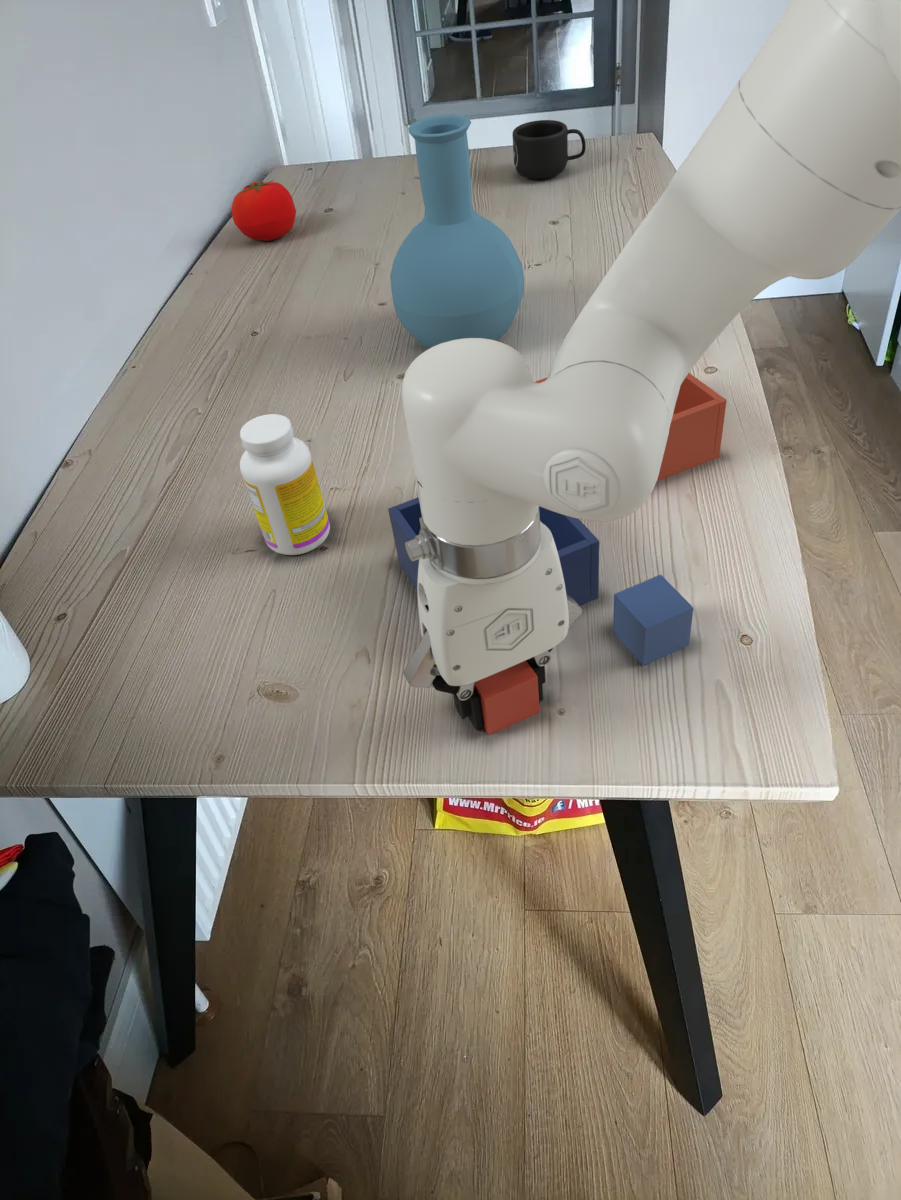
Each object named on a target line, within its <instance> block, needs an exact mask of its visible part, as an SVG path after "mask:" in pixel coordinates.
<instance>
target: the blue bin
mask: <svg viewBox="0 0 901 1200" xmlns="http://www.w3.org/2000/svg"><path fill="white" fill-rule="evenodd" d="M387 510H388V514H389V515H388V516H389V520H390V525H391V530H392V535H393V540H394V545H395V549H396V554H397V559H398V564H399V566H400V567H401V569H402V570H403V572H404V573H405V575H406V577H407V578H408V580H409V581H410V582H411V584H412V586H413V587H414V588H415V590H416V591H417V584H418V567H419V559H418V560H415V561H411V559H410V558H409V556H408V553H407V551H406V547H405V542H408V541H410V540H413V539H415V536H417V535H419V532H420V529H421V526H420V520H419V518H421V517H422V514H421V508H420V502H419V496H417V497H415V498H413V499H412V498H411V499H409V500H407V501H404V502H402V503H399V504H397V505H394V506H390V507H389V508H387ZM539 513H540V521H541V522H542V523H543V524H544V525H545V526H546V527H548V529H549V530H550V531H551V533H552V536H553V539H554V542H555V545H556V548H557V552H558V555H559V559H560V564H561V568H562V573H563V578H564V583H565V589H566V594H567V595H568V596H570V597H571V598H573V599H574V600H575V601H576V603H577V604H578V605H579V606H580V607H582V606H583V605H585V604H588V603H591V602H592V601H596V600H597V599H599V588H600V587H599V586H600V584H599V581H600V540H599V538H598V537H597V536H596V535H595V534H594V533H592V531H591V530H590V529H589V528H588V526H586V525H585V524H584V523H583V521H581V519H577V518H573V517H569V516H566V515H562V514H559V513H557V512H554V511H551V510H548V509H545V508H543V507H540V506H539Z"/></svg>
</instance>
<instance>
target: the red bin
mask: <svg viewBox="0 0 901 1200" xmlns="http://www.w3.org/2000/svg"><path fill="white" fill-rule="evenodd" d="M546 379H547V377H544V378H542V379H538V380H535V381H534V382H535V383H542V382H544V381H546ZM726 408H727V399H726V398H724V397H723V396H722V395H720V393H718V392H716V391H715V390H713V389H712V388H711V387H709V386H708V385H706V384H705V383H704V382H703V381H701V380H700V379H698V378H697V377H696V376H694V375H693V374H692V373H690V372H689V373H688V374H687V376H686V377H685V379H684V381H683V382H682V384H681V386H680V390H679V394H678V397H677V400H676V404H675V408H674V413H673V417H672V421H671V424H670V428H669V435H668V439H667V443H666V447H665V451H664V455H663V459H662V463H661V467H660V471H659V475H658V479H657V482H656V483H658V482H660V481H662V480H664V479H667V478H670V477H673V476H675V475H678V474H680V473H683V472H685V471H688V470H690V469H693V468H695V467H699V466H700V465H703V464H706V463H708V462H710V461H713V460H715V459H718V458H720V455H721V448H722V439H723V431H724V424H725V415H726Z"/></svg>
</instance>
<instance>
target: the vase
mask: <svg viewBox="0 0 901 1200" xmlns="http://www.w3.org/2000/svg"><path fill="white" fill-rule="evenodd" d="M471 124H472V121H471V119H470V118H469V117H467V116H465V115H462V114H456V113H455V114H454V113H452V114H451V113H450V114H449V113H447V114H437V115H430V116H427V117H423V118H421V119H418V120H416V121H414V122H412V123H411V124H410V125H409V127H408V128H407V130H408V133H409V135H410V136H411V137H412V138H413V139H414V146H415V154H416V155H415V156H416V162H417V170H418V176H419V183H420V190H421V195H422V201H423V206H424V212H423V213H424V216H423V218H422V220H421V221H420V222H418V223H417V224H416V225H414V227H413V228H412V229H411V230H410V232H409V233H408V234H407V235H406V236H405V238H404V240H403V241H402V243H401V244H400V246H399V247H398V250H397V251H396V254H395V256H394V258H393V260H392V266H391V271H390V289H391V290H390V291H391V298H392V302H393V307H394V310H395V314H396V317H397V318H398V320H399V322H400V323H401V325H402V327H403V328H404V329H405V330H406V331H407V332H408V333H409V334H410V335H411V336H412V337H413V339H415V341H416V342H417V343H419V344H420V345H421V346H422V347H424V348H426V349H430V348H432V347H434V346H436V345H438V344H441V343H444V342H448V341H452V340H457V339H463V338H484V339H491V340H495V341H499V339H500V338H502V337H503V335H505V334H506V333H507V332H508V330H509V329H510V327H511V325H512V323H513V321H514V320H515V318H516V315H517V313H518V311H519V308H520V305H521V302H522V300H523V297H524V294H525V274H524V267H523V264H522V261H521V259H520V257H519V254H518V253H517V251H516V249H515V247H514V244H513V243H512V241H511V239H510V238H509V237H508V235H507V234H506V233H505V232H504V231H503V230H502V229H501V228H500V227H499V226H498V225H496V224H495V223H494V222H492V221H491V220H489V218H488V219H487V218H486V217H484V216H482V215H481V214H480V213H478V212H477V211H476V210H475V209H474V206H473V196H472V195H473V194H472V175H471V174H472V173H471V161H470V160H471V159H470V150H469V139H468V130H469V128H470V126H471Z"/></svg>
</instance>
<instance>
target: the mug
mask: <svg viewBox="0 0 901 1200" xmlns="http://www.w3.org/2000/svg"><path fill="white" fill-rule="evenodd" d="M570 134H577V136H579V138H580V140H581V144H582V145H581V151H580V152H579V153H577V154H573V155H569V147H568V146H569V143H568V139H569V138H568V135H570ZM586 147H587V144H586V138H585V135H584V134H583V133H582V132H581V130H579V129H576V128H570V129H568V126H567V124H566V123H564V122H562V121H559V120H554V119H539V120H532V121H527V122H525V123H521V124H519V125H518V126H516V127H515V128H514V129H513V130H512V152H513V165H514V169H515V171H516V172H517V174H518V175H519V176H521V177H523V178H526V179H528V180H533V181H544V180H549V179H551V178H554V177H556V176H557V175H559V174H561V173H562V172H564V170H565V169H566V166H567V165H568V162H569V161H572V160H577V159H580V158H582V157H583V156H584V155H585V152H586V149H587V148H586Z"/></svg>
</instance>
